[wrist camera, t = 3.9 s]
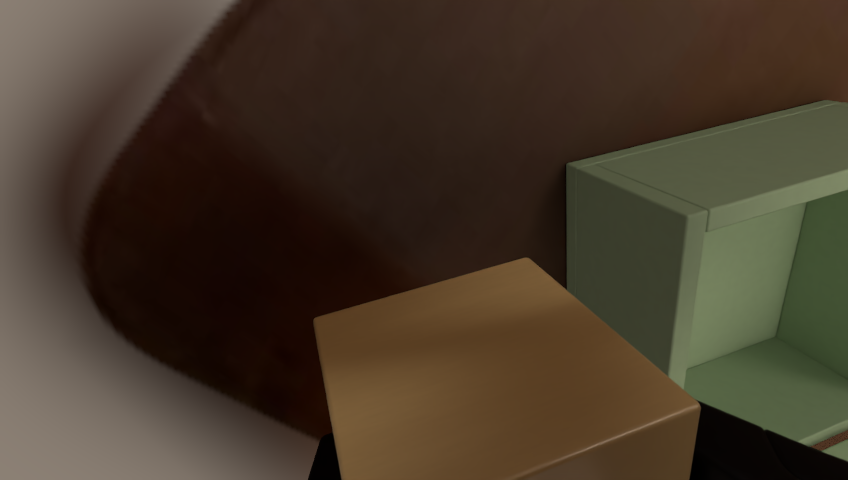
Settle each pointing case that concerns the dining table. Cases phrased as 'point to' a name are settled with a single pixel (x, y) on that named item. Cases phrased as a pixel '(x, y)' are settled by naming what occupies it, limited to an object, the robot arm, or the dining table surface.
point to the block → (497, 387)
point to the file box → (727, 262)
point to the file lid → (839, 450)
